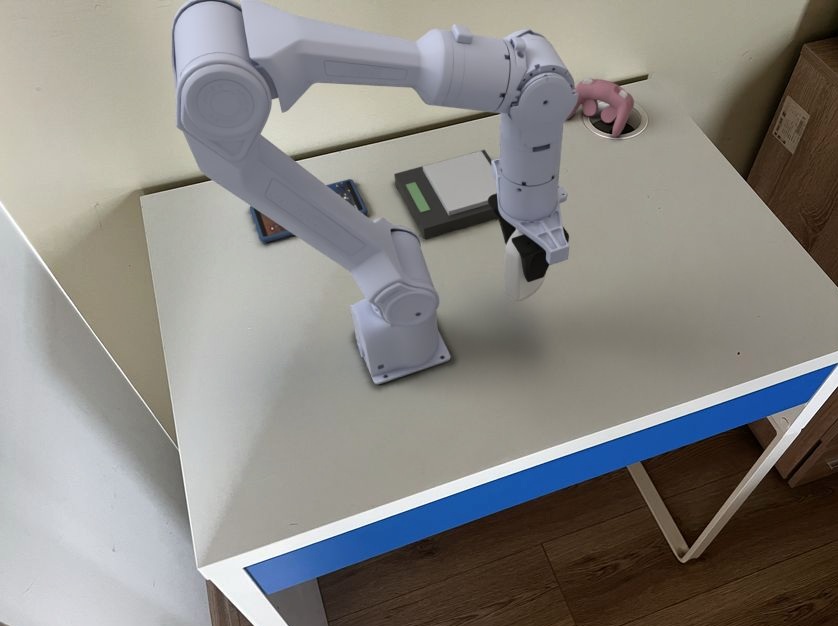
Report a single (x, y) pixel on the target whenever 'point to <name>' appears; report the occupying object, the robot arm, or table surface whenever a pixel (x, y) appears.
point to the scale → (449, 193)
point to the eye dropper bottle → (517, 274)
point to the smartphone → (274, 231)
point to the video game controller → (608, 94)
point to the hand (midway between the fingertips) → (525, 262)
